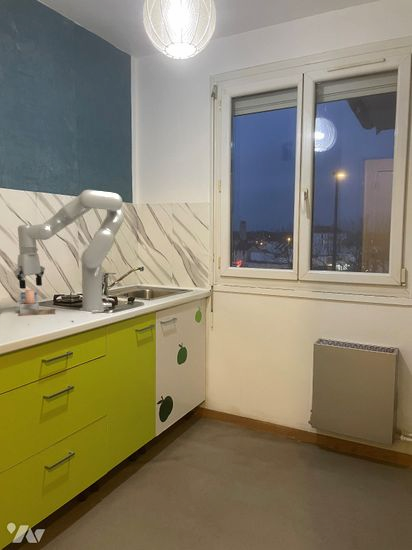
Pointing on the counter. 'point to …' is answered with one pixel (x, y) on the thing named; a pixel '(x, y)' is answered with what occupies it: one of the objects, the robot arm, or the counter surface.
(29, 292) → the peg
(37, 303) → the socket board
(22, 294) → the medicine box
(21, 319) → the counter surface
